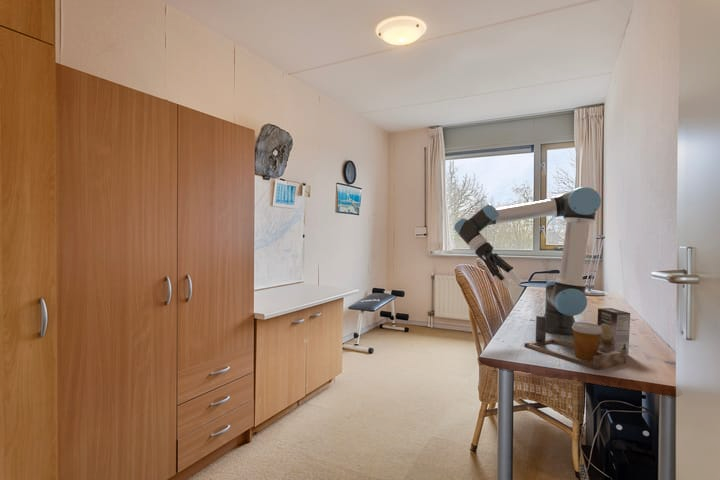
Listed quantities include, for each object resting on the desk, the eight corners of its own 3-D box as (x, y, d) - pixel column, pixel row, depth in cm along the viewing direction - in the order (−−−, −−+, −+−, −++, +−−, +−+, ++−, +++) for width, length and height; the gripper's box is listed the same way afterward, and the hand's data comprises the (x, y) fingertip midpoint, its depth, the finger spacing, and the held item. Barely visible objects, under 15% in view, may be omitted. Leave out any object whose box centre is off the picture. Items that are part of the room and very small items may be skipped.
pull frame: (549, 340, 156) (550, 313, 156) (626, 362, 131) (627, 330, 131) (522, 345, 148) (523, 317, 148) (597, 369, 123) (599, 336, 122)
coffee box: (595, 348, 147) (596, 307, 146) (609, 348, 148) (610, 307, 147) (614, 356, 138) (616, 312, 137) (629, 355, 139) (631, 312, 138)
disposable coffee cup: (606, 363, 129) (607, 329, 129) (576, 361, 131) (577, 327, 131) (594, 355, 138) (596, 323, 138) (566, 353, 140) (567, 321, 140)
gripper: (486, 252, 178) (517, 287, 168) (463, 253, 159) (497, 293, 149) (497, 241, 174) (530, 276, 165) (475, 241, 155) (511, 281, 146)
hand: (514, 284), depth 157 cm, fingers open, 13 cm apart
